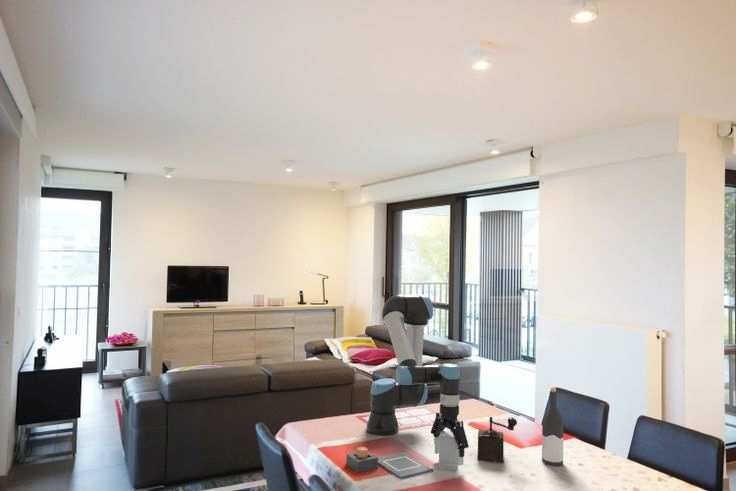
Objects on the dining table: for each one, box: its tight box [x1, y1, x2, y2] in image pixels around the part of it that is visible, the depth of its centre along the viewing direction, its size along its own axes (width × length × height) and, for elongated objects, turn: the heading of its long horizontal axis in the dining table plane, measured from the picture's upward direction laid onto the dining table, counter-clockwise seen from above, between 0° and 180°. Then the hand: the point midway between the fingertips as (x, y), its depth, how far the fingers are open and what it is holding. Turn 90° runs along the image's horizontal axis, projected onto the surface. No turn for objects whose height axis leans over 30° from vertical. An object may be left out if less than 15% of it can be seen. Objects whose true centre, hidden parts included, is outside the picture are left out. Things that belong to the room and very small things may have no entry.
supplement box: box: [438, 430, 458, 471], centre depth 203 cm, size 7×7×13 cm
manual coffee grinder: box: [476, 416, 518, 463], centre depth 213 cm, size 16×11×18 cm
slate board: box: [377, 451, 434, 480], centre depth 203 cm, size 20×15×1 cm
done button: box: [356, 446, 369, 459], centre depth 201 cm, size 4×4×4 cm
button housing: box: [345, 450, 379, 473], centre depth 201 cm, size 9×9×4 cm
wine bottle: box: [541, 386, 564, 467], centre depth 210 cm, size 8×8×30 cm
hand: (448, 458), depth 203 cm, fingers open, 13 cm apart
